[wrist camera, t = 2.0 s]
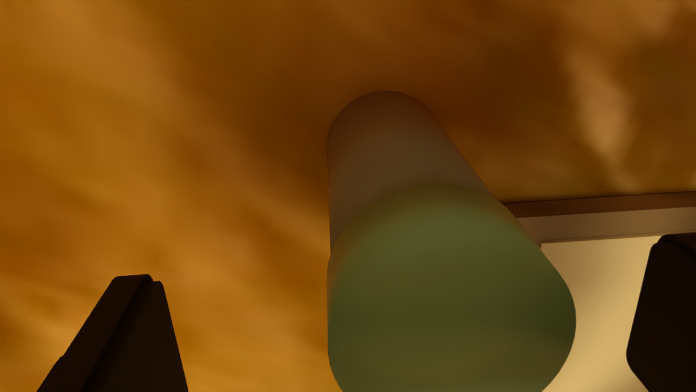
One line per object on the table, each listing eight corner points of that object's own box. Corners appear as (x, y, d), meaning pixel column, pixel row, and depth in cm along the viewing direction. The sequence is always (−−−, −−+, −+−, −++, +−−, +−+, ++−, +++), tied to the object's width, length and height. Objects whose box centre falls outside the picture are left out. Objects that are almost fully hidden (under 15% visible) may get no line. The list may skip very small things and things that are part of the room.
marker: (445, 84, 17) (595, 227, 7) (440, 197, 18) (558, 423, 9) (320, 92, 16) (319, 245, 7) (328, 204, 18) (335, 440, 9)
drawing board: (876, 179, 19) (916, 195, 18) (734, 498, 27) (754, 524, 26) (464, 206, 18) (474, 223, 17) (444, 521, 27) (450, 549, 25)
